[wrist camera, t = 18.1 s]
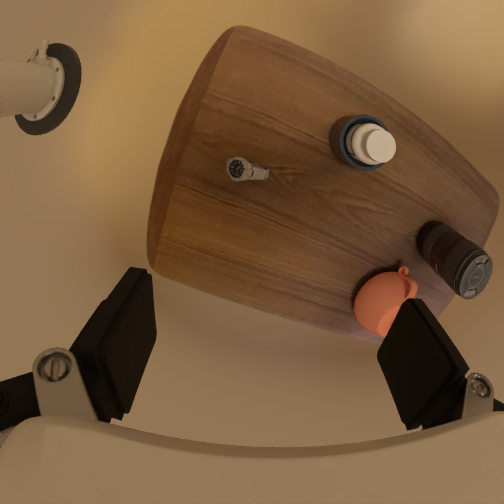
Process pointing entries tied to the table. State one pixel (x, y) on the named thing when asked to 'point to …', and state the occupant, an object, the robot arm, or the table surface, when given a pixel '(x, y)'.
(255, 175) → the wristwatch
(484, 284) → the camera lens
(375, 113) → the table surface
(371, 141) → the pill bottle
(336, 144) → the cup
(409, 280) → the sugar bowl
